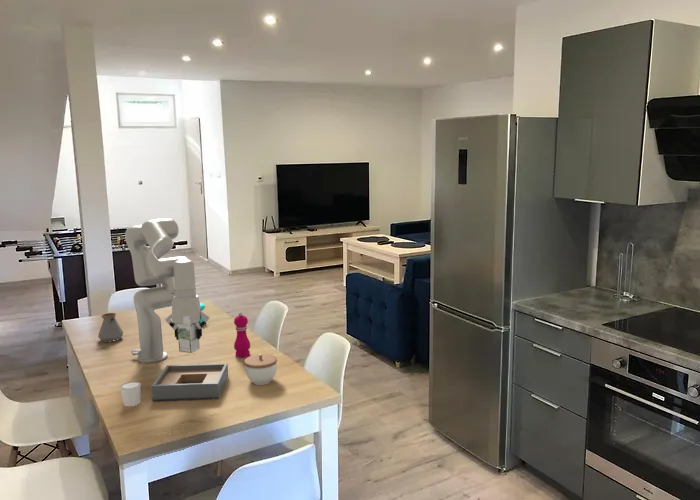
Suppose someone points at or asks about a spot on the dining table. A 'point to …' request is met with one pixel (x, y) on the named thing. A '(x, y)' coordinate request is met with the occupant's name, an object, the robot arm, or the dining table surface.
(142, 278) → the robot arm
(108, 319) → the coffee pot
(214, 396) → the gray open box
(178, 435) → the dining table surface
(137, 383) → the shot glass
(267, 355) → the lidded bowl
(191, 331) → the syrup box
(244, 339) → the pepper mill
